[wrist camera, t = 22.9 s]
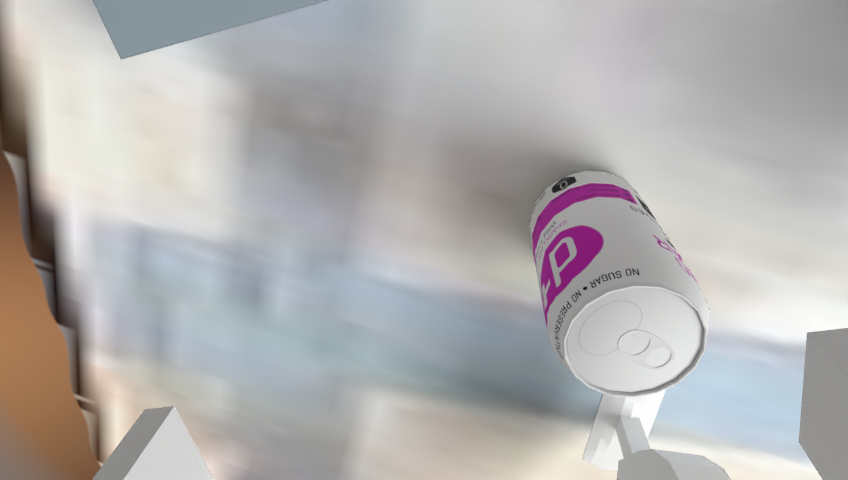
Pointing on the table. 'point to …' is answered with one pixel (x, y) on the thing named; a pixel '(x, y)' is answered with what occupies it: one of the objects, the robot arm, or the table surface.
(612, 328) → the supplement can
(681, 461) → the heart sculpture
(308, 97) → the table surface
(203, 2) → the socket block
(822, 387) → the robot arm
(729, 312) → the table surface
